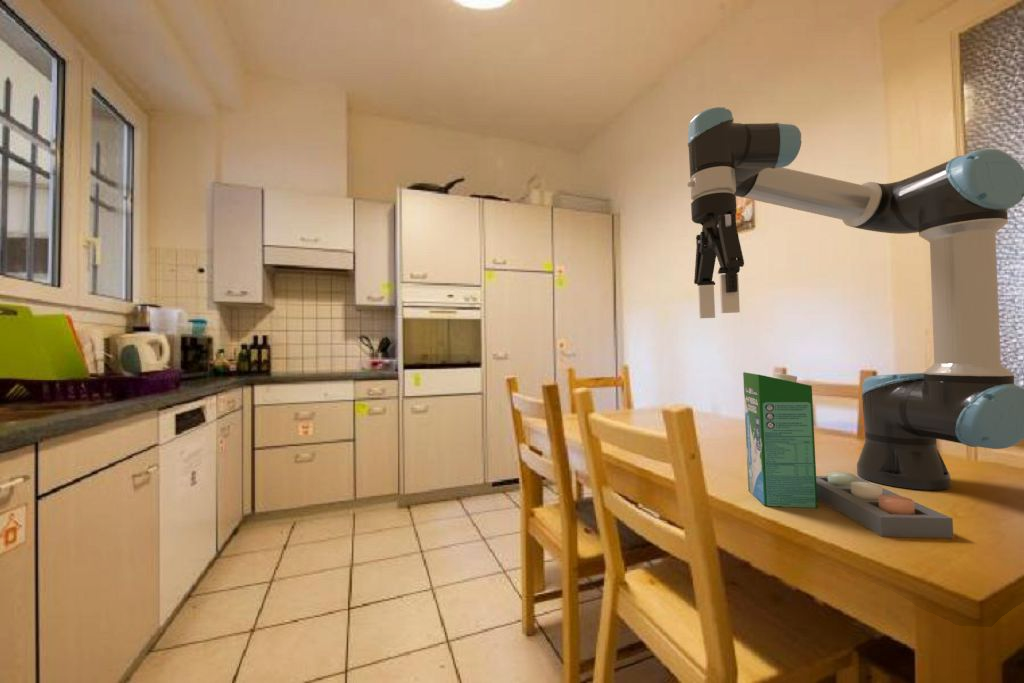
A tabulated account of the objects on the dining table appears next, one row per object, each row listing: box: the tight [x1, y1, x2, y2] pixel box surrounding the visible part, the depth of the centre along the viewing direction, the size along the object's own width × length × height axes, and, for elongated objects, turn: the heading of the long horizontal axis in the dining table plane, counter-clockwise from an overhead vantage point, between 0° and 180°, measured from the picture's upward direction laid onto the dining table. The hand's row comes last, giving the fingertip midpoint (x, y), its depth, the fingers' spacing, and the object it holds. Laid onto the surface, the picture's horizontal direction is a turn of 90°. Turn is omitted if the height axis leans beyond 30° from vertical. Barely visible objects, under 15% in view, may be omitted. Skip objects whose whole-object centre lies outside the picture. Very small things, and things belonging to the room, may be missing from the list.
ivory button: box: [851, 482, 883, 499], centre depth 77 cm, size 4×4×3 cm
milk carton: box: [742, 371, 819, 509], centre depth 84 cm, size 9×9×25 cm
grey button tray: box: [816, 475, 954, 539], centre depth 77 cm, size 22×10×3 cm, turn 173°
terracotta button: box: [878, 495, 915, 515], centre depth 70 cm, size 4×4×3 cm
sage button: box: [827, 470, 856, 486], centre depth 84 cm, size 4×4×3 cm
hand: (718, 315), depth 78 cm, fingers open, 11 cm apart
